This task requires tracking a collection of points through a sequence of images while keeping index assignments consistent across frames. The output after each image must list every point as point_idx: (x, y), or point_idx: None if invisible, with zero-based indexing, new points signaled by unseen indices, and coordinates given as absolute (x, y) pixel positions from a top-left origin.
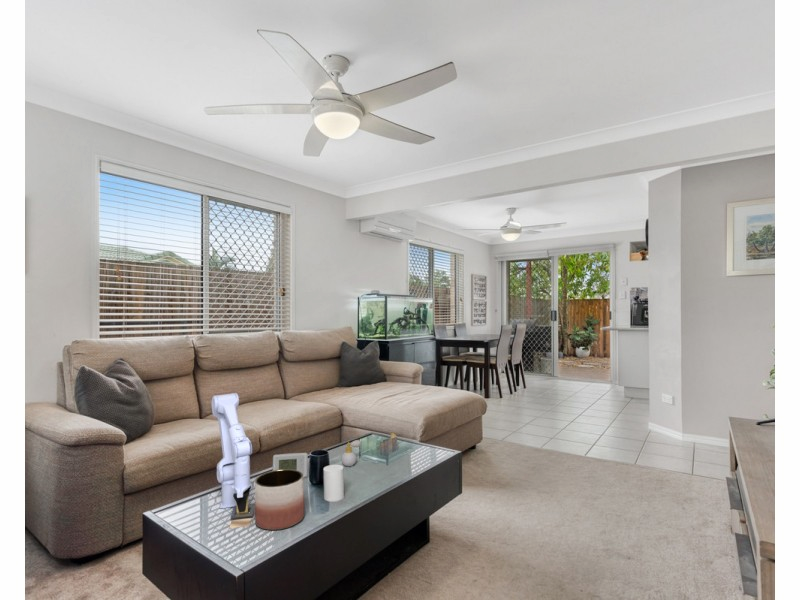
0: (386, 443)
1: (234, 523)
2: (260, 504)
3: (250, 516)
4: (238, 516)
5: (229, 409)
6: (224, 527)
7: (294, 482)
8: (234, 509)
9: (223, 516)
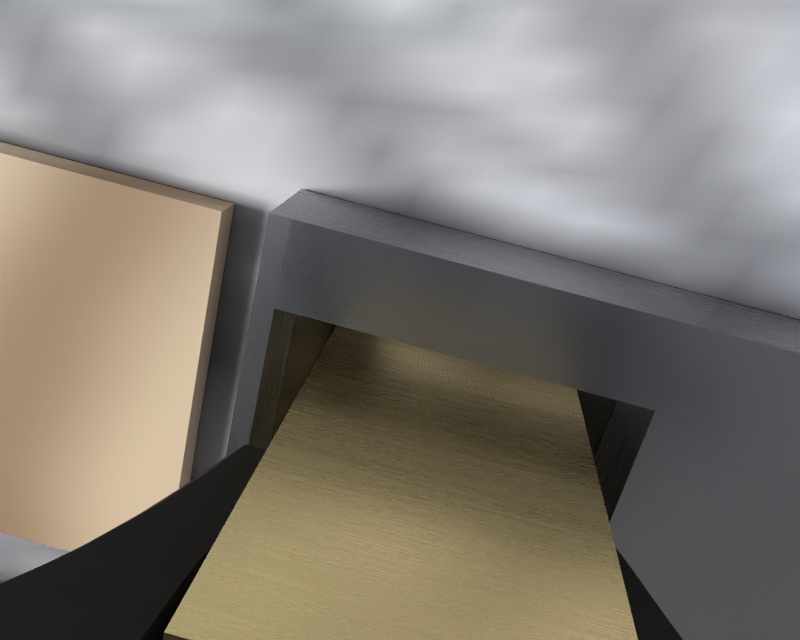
0: None
1: (38, 250)
2: None
3: None
4: (245, 382)
5: None
6: (27, 18)
7: None
8: (657, 362)
9: (679, 46)
